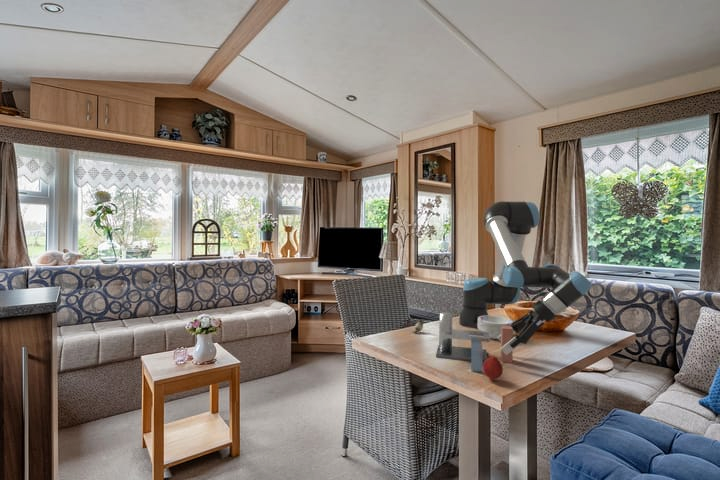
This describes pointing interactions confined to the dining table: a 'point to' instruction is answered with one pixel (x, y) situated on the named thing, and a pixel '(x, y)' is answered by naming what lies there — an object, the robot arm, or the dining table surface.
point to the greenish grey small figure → (418, 326)
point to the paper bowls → (493, 325)
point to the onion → (492, 368)
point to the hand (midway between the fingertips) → (501, 346)
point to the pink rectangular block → (505, 338)
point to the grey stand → (461, 353)
